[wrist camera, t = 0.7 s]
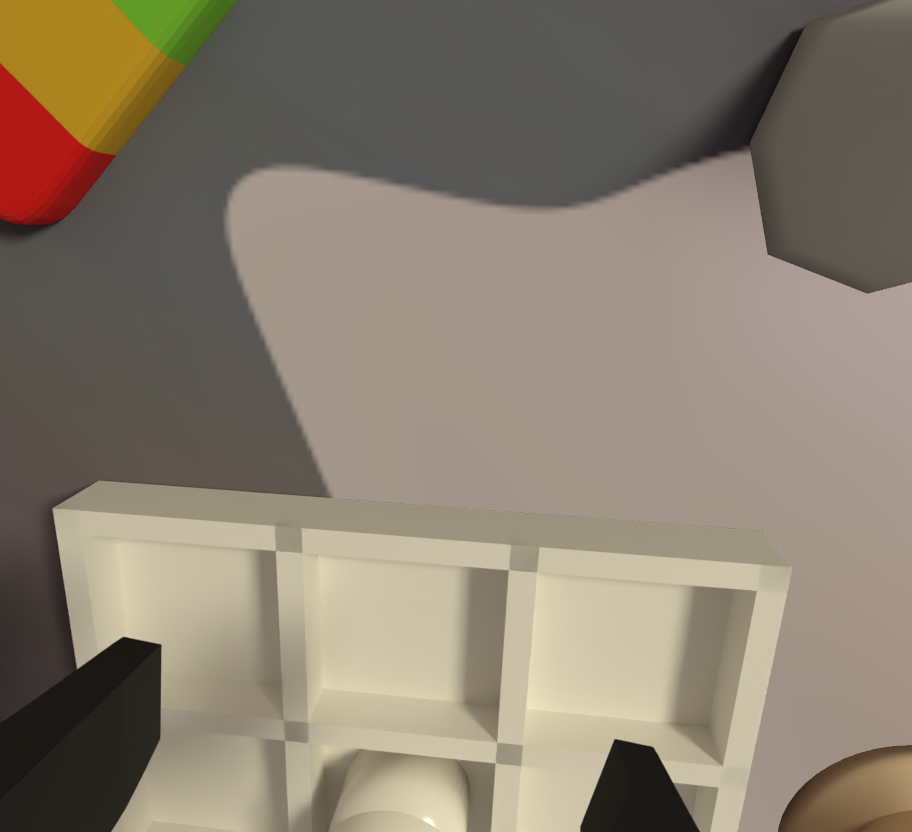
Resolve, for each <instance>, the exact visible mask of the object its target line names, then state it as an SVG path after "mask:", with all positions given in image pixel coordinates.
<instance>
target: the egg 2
mask: <svg viewBox="0 0 912 832" xmlns="http://www.w3.org/2000/svg"><path fill="white" fill-rule="evenodd" d="M859 832H912V810H910V811H902V812H897V813H893V814H889V815H887V816H884V817H881V818H879V819H877V820H874V821H873V822H871V823H869V824H868V825H866V826H865V827H863V828H862V829H861V830H860V831H859Z"/></svg>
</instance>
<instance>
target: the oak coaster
mask: <svg viewBox="0 0 912 832" xmlns="http://www.w3.org/2000/svg"><path fill="white" fill-rule="evenodd" d="M910 810H912V746H911V745H908V746H892V747H885V748H879V749H874V750H870V751H866V752H862V753H859V754H856V755H853V756H850V757H848V758H845V759H843V760H841V761H839V762H837V763H835V764H833V765H831V766H829V767H827V768H826V769H824V770H822V771H821V772H819V773H818V774H816V775H815V776H814V777H813V778H812V779H810V780H809V781H808V782H807V783H805V784H804V786H803V787H802V788H801V789H800V790H799V791H798V792H797V793H796V794H795V796H794V797H793V798H792V800H791V801H790V802H789V804H788V806H787V808H786V810H785V811H784V813H783V815H782V818H781V822H780V825H779V829H778V832H859V831H860V830H861V829H862V828H863V827H865V826H866V825H868V824H869V823H871V822H873V821H874V820H877V819H879V818H881V817H884V816H887V815H889V814H893V813H897V812H902V811H910Z"/></svg>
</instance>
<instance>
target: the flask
mask: <svg viewBox="0 0 912 832" xmlns="http://www.w3.org/2000/svg"><path fill="white" fill-rule="evenodd" d="M750 149H751V155H752V161H753V168H754V174H755V180H756V185H757V192H758V198H759V204H760V210H761V216H762V222H763V228H764V234H765V240H766V246H767V252H768V255H771V256H773V257H776V258H778V259H781V260H784V261H786V262H789V263H791V264H794V265H796V266H799V267H801V268H804V269H806V270H809V271H812V272H814V273H817V274H819V275H822V276H824V277H827V278H829V279H832V280H835V281H837V282H839V283H842V284H845V285H847V286H850V287H852V288H855V289H857V290H860V291H862V292H865V293H871V292H875V291H879V290H883V289H887V288H891V287H895V286H898V285H902V284H906V283H910V282H912V0H875V1H872V2H869V3H866V4H863V5H860V6H857V7H854V8H851V9H848V10H845V11H842V12H839V13H836V14H833V15H830V16H826V17H823V18H820V19H817V20H814V21H811V22H808V23H806V25H805V27H804V30H803V32H802V34H801V36H800V38H799V40H798V42H797V44H796V46H795V49H794V51H793V53H792V55H791V57H790V59H789V61H788V63H787V65H786V67H785V70H784V72H783V74H782V76H781V78H780V80H779V82H778V84H777V86H776V89H775V91H774V93H773V95H772V97H771V99H770V101H769V103H768V105H767V107H766V110H765V112H764V114H763V116H762V118H761V120H760V122H759V124H758V126H757V128H756V131H755V133H754V135H753V137H752V139H751V141H750Z"/></svg>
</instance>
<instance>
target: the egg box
mask: <svg viewBox="0 0 912 832" xmlns="http://www.w3.org/2000/svg"><path fill="white" fill-rule="evenodd" d="M53 515H54V521H55V528H56V534H57V541H58V547H59V554H60V560H61V567H62V573H63V580H64V586H65V593H66V599H67V606H68V612H69V619H70V626H71V632H72V639H73V645H74V652H75V658H76V665H77V669H78V668H80V667H81V666H82V665H84V664H85V663H86V662H88V661H89V660H91V659H92V658H93V657H95V656H96V655H97V654H99V653H100V652H102V651H103V650H104V649H106V648H107V647H109V646H110V645H111V644H113V643H114V642H116V641H117V640H119V639H120V638H122V637H128V638H133V639H138V640H142V641H147V642H152V643H157V644H162V651H161V734H160V741H159V743H158V745H157V747H156V749H155V751H154V753H153V755H152V757H151V759H150V761H149V763H148V765H147V768H146V770H145V772H144V774H143V776H142V778H141V780H140V782H139V784H138V786H137V788H136V790H135V792H134V794H133V796H132V797H131V799H130V801H129V803H128V805H127V807H126V809H125V811H124V812H123V814H122V815H121V817H120V819H119V820H118V822H117V824H116V825H115V827H114V828H113V830H112V832H329V829H330V825H331V822H332V819H333V816H334V813H335V810H336V807H337V804H338V800H339V797H340V794H341V791H342V788H343V785H344V782H345V779H346V775H347V772H348V769H349V766H350V764H351V762H352V760H353V758H354V757H355V755H356V754H357V753H358V752H359V751H360V750H361V749H366V750H375V751H385V752H394V753H403V754H413V755H422V756H431V757H440V758H450V759H457V760H458V761H459V763H460V764H461V765H462V767H463V769H464V770H465V772H466V774H467V777H468V780H469V785H470V799H469V810H468V821H467V832H580V826H581V823H582V821H583V818H584V816H585V813H586V810H587V808H588V805H589V803H590V800H591V798H592V795H593V793H594V790H595V787H596V785H597V782H598V780H599V777H600V775H601V772H602V770H603V767H604V764H605V762H606V759H607V757H608V754H609V752H610V749H611V747H612V744H613V741H614V739H618V740H623V741H628V742H633V743H637V744H642V745H647V746H652V747H654V749H655V750H656V752H657V754H658V755H659V757H660V759H661V761H662V763H663V765H664V766H665V768H666V770H667V772H668V774H669V776H670V778H671V779H672V781H673V783H674V785H675V787H676V789H677V791H678V792H679V794H680V796H681V798H682V800H683V802H684V803H685V805H686V807H687V809H688V811H689V813H690V814H691V816H692V818H693V820H694V822H695V823H696V825H697V827H698V829H699V831H700V832H737V831H738V826H739V822H740V817H741V812H742V807H743V802H744V798H745V793H746V788H747V783H748V778H749V774H750V769H751V764H752V759H753V754H754V750H755V745H756V740H757V735H758V731H759V725H760V721H761V716H762V711H763V706H764V701H765V697H766V692H767V687H768V682H769V678H770V673H771V668H772V663H773V659H774V654H775V649H776V644H777V640H778V635H779V630H780V625H781V620H782V616H783V610H784V606H785V601H786V596H787V591H788V587H789V582H790V577H791V572H792V566H791V565H790V564H789V562H788V561H787V560H786V559H785V557H784V556H783V555H782V554H781V552H780V551H779V550H778V549H777V547H776V546H775V545H774V544H773V542H772V541H771V540H770V539H769V537H768V536H767V535H766V534H765V532H764V531H759V530H747V529H734V528H721V527H707V526H706V527H705V526H694V525H681V524H668V523H654V522H641V521H628V520H614V519H600V518H588V517H574V516H561V515H548V514H535V513H521V512H507V511H495V510H482V509H468V508H454V507H442V506H428V505H416V504H402V503H389V502H376V501H362V500H349V499H336V498H323V497H309V496H296V495H283V494H270V493H256V492H243V491H230V490H217V489H203V488H190V487H177V486H164V485H150V484H137V483H124V482H111V481H98V482H96V483H94V484H93V485H91V486H89V487H88V488H86V489H84V490H83V491H81V492H79V493H78V494H76V495H74V496H72V497H71V498H69V499H67V500H66V501H64V502H62V503H61V504H59V505H57V506H56V507H54V508H53Z"/></svg>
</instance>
